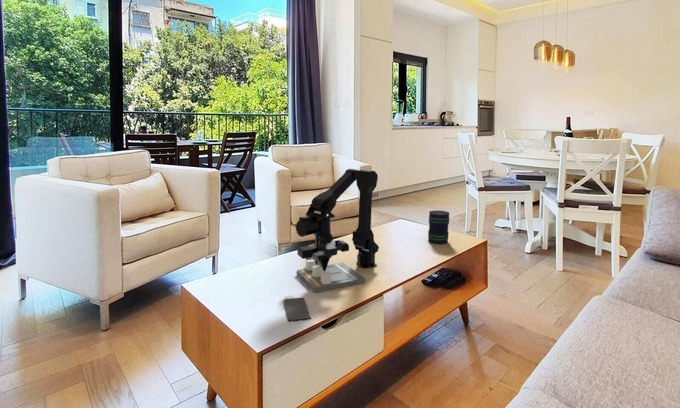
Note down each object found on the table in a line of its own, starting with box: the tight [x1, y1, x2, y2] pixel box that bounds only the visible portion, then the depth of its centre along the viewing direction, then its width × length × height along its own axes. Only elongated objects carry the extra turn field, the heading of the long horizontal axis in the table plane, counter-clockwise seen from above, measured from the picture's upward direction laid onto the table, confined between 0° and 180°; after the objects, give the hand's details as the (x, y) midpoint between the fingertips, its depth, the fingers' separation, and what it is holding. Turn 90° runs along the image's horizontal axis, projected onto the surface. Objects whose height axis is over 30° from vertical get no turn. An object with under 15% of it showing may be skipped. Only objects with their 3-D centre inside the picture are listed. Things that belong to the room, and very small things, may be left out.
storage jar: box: [427, 210, 450, 245], centre depth 196 cm, size 10×10×15 cm
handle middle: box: [312, 265, 322, 277], centre depth 147 cm, size 3×2×4 cm
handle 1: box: [305, 259, 315, 271], centre depth 153 cm, size 3×2×4 cm
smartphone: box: [283, 296, 312, 323], centre depth 125 cm, size 7×1×15 cm
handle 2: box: [321, 272, 331, 285], centre depth 140 cm, size 3×2×4 cm
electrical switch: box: [305, 243, 321, 266], centre depth 165 cm, size 9×5×9 cm, turn 141°
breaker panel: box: [296, 262, 367, 294], centre depth 149 cm, size 20×19×2 cm
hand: (324, 271), depth 148 cm, fingers closed
